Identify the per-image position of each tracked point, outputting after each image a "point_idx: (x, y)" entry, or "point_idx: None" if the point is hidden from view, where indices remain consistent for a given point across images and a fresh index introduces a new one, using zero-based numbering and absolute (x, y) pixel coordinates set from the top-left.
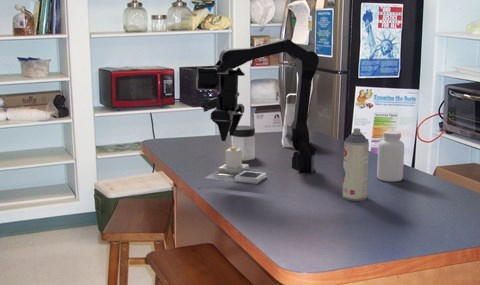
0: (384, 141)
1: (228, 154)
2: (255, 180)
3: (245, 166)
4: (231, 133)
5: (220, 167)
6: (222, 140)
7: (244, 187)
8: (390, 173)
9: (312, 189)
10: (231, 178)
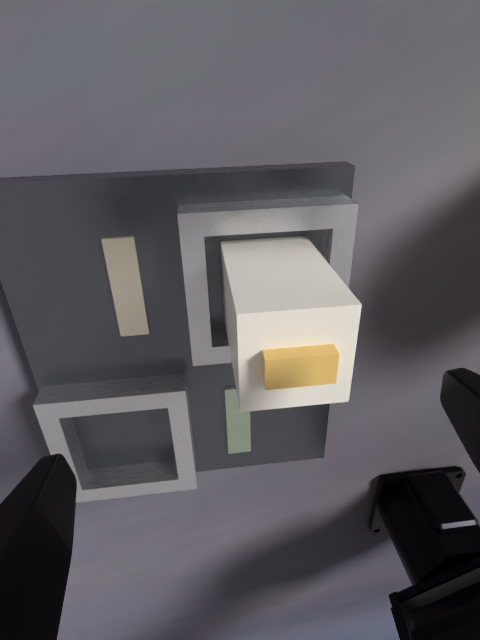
0: None
1: (234, 322)
2: None
3: None
4: (458, 410)
5: (192, 223)
6: (45, 466)
7: None
8: None
9: (174, 590)
10: (85, 346)
